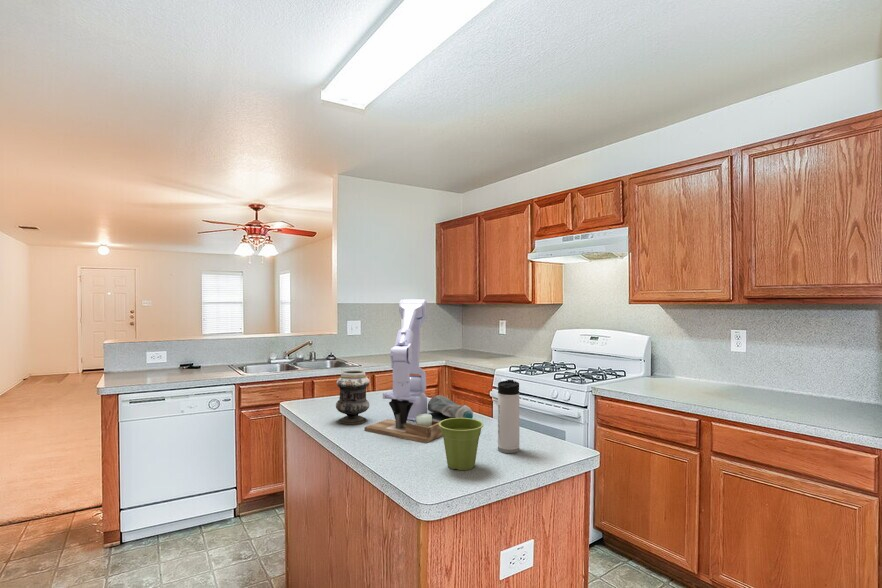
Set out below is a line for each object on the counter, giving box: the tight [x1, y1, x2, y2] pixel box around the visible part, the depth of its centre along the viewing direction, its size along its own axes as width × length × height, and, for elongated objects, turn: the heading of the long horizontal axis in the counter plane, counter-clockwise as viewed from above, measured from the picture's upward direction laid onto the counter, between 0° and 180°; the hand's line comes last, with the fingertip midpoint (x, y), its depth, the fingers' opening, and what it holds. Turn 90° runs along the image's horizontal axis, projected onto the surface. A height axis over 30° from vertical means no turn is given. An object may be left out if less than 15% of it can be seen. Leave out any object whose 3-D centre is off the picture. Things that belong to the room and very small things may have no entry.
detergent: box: [427, 394, 474, 419], centre depth 172 cm, size 13×7×25 cm
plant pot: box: [439, 417, 484, 471], centre depth 123 cm, size 12×12×11 cm
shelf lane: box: [364, 419, 443, 444], centre depth 154 cm, size 12×25×4 cm, turn 57°
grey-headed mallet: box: [395, 413, 433, 429], centre depth 152 cm, size 5×13×5 cm, turn 57°
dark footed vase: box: [335, 369, 370, 425], centre depth 168 cm, size 12×12×18 cm
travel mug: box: [497, 379, 520, 454], centre depth 136 cm, size 6×7×20 cm
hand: (401, 422), depth 155 cm, fingers closed on grey-headed mallet, 2 cm apart
